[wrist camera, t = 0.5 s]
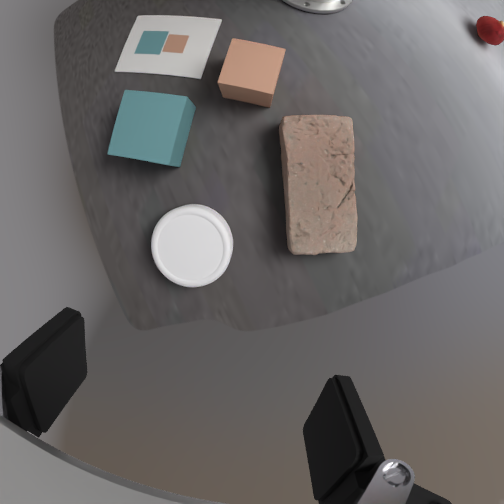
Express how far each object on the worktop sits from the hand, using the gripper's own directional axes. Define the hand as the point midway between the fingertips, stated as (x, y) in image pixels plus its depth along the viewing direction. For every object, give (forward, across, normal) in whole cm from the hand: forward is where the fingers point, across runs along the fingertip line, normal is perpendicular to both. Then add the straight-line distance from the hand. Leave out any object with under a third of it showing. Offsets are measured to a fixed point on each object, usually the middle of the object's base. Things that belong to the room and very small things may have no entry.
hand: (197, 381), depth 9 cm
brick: (+28, -8, -8) cm, 31 cm away
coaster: (+28, +5, +2) cm, 29 cm away
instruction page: (+28, +16, -24) cm, 40 cm away
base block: (+28, +13, -11) cm, 33 cm away
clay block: (+28, +3, -20) cm, 34 cm away
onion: (+28, -33, -48) cm, 65 cm away
